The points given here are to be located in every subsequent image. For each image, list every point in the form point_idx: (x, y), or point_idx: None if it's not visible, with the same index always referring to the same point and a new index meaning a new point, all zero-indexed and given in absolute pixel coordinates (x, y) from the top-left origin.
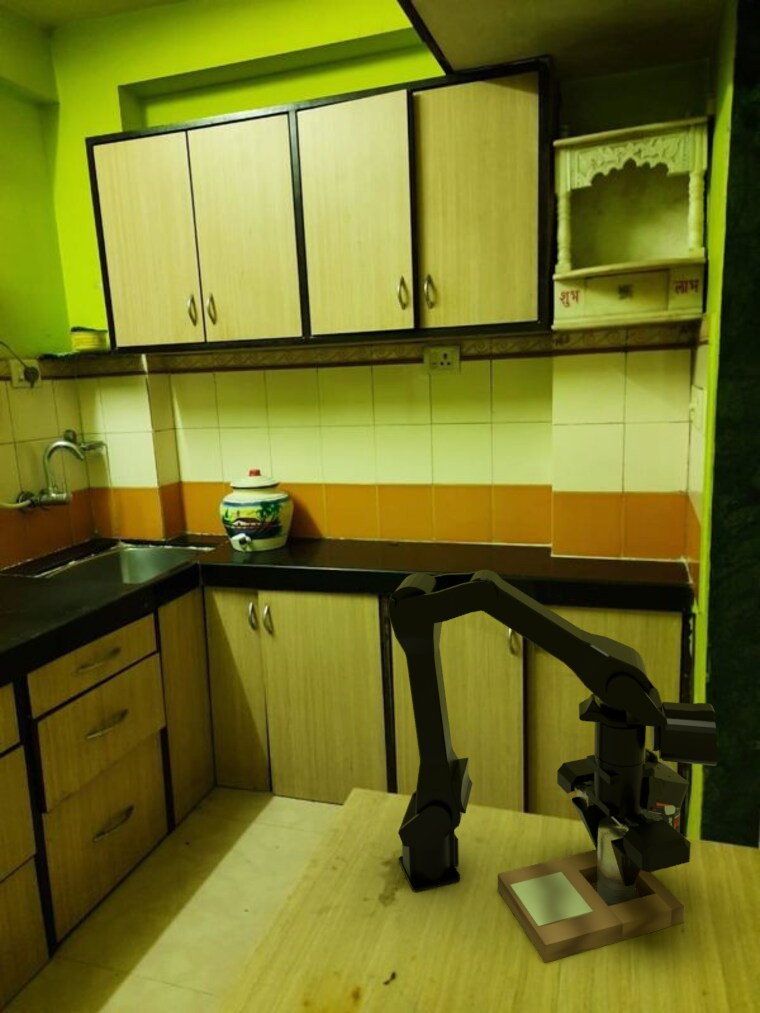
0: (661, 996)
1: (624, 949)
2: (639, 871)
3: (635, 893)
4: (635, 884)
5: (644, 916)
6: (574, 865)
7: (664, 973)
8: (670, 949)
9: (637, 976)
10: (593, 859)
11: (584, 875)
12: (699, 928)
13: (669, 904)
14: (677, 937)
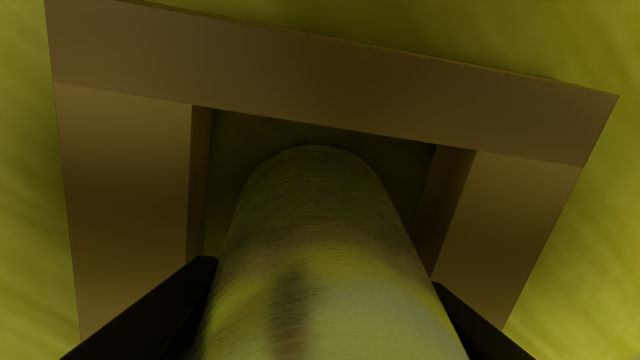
0: (632, 337)
1: None
2: (518, 349)
3: (379, 182)
4: (397, 215)
5: (520, 283)
6: None
7: (606, 288)
8: (579, 216)
9: (558, 345)
10: (138, 240)
11: None
12: (616, 45)
13: (561, 152)
14: None
